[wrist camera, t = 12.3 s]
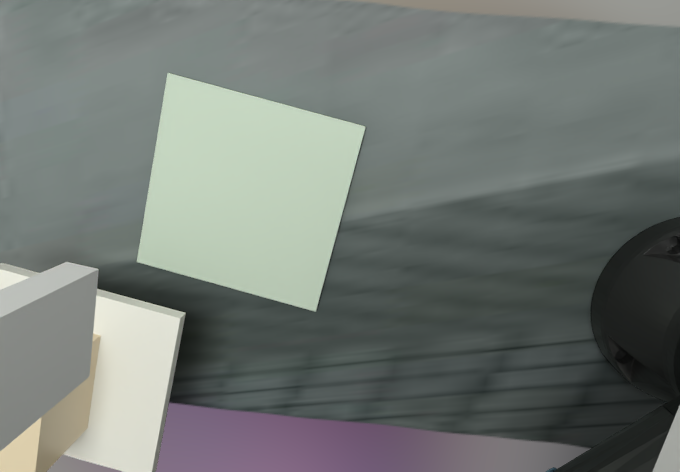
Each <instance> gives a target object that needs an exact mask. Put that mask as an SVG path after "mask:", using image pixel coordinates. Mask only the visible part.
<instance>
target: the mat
mask: <svg viewBox="0 0 680 472" xmlns="http://www.w3.org/2000/svg"><path fill="white" fill-rule="evenodd" d="M364 131H365V126H362V125H358V124H354V123H351V122H347V121H343V120H340V119H336V118H332V117H329V116H325V115H321V114H318V113H314V112H310V111H307V110H303V109H299V108H295V107H292V106H288V105H284V104H281V103H277V102H273V101H270V100H266V99H262V98H259V97H255V96H251V95H248V94H244V93H240V92H237V91H233V90H229V89H226V88H222V87H218V86H215V85H211V84H207V83H204V82H200V81H196V80H193V79H189V78H185V77H181V76H178V75H174V74H170V73H168V75H167V81H166V87H165V93H164V99H163V105H162V111H161V117H160V124H159V130H158V136H157V142H156V148H155V154H154V160H153V166H152V172H151V178H150V185H149V191H148V197H147V203H146V209H145V215H144V221H143V227H142V233H141V240H140V246H139V252H138V258H137V262H139V263H143V264H146V265H150V266H153V267H157V268H161V269H164V270H168V271H171V272H175V273H179V274H182V275H186V276H189V277H193V278H196V279H200V280H204V281H207V282H211V283H214V284H218V285H222V286H225V287H229V288H232V289H236V290H240V291H243V292H247V293H250V294H254V295H258V296H261V297H265V298H268V299H272V300H276V301H279V302H283V303H286V304H290V305H294V306H297V307H301V308H304V309H308V310H312V311H315V312H316V309H317V306H318V302H319V298H320V294H321V291H322V287H323V283H324V280H325V276H326V272H327V268H328V265H329V261H330V257H331V254H332V250H333V246H334V242H335V239H336V235H337V231H338V228H339V224H340V220H341V216H342V213H343V209H344V205H345V202H346V198H347V194H348V191H349V187H350V183H351V179H352V176H353V172H354V168H355V165H356V161H357V157H358V153H359V150H360V146H361V142H362V139H363V135H364Z"/></svg>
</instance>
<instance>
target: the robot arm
mask: <svg viewBox="0 0 680 472" xmlns="http://www.w3.org/2000/svg"><path fill="white" fill-rule="evenodd" d="M98 272H99V269H96V268H92V267H87V266H83V265H78V264H74V263H69V262H65V263H63V264H60V265H58V266H56V267H53V268H51V269H49V270H46V271H44V272H42V273H39V274H37V275H34V276H32V277H30V278H27V279H25V280H23V281H20V282H18V283H15V284H13V285H11V286H8V287H6V288H4V289H1V290H0V451H1V450H3V449H4V448H5V447H6V446H7V445H9V444H10V443H11V442H12V441H13V440H14V439H16V438H17V437H18V436H19V435H20V434H22V433H23V432H24V431H25V430H26V429H28V428H29V427H30V426H31V425H32V424H34V423H35V422H36V421H37V420H38V419H39V418H41V417H42V416H43V415H44V414H45V413H47V412H48V411H49V410H50V409H51V408H53V407H54V406H55V405H56V404H57V403H59V402H60V401H61V400H62V399H63V398H65V397H66V396H67V395H68V394H69V393H70V392H72V391H73V390H74V389H75V388H76V387H78V386H79V385H80V384H81V383H82V382H84V381H85V380H86V379H87V378H88V377H89V376H90V364H91V353H92V341H93V330H94V318H95V306H96V295H97V283H98ZM591 321H592V328H593V333H594V336H595V339H596V341H597V344H598V346H599V348H600V350H601V351H602V353H603V354H604V356H605V357H606V358H607V360H608V361H609V362H610V363H611V364H612V365H613V366H614V367H615V368H616V370H617V371H618V372H619V373H620V374H621V375H622V376H623V377H624V378H625V379H626V380H628V381H629V382H630V383H631V384H633V385H634V386H636V387H637V388H639V389H640V390H642V391H644V392H645V393H647V394H649V395H651V396H654V397H656V398H658V399H661V400H663V401H666V402H668V403H666V404H665V405H663V406H661V407H659V408H657V409H656V410H654V411H653V412H651V413H649V414H648V415H646V416H644V417H643V418H641V419H639V420H638V421H636V422H634V423H633V424H631V425H629V426H628V427H626V428H624V429H623V430H621V431H620V432H618V433H616V434H615V435H613V436H611V437H610V438H608V439H606V440H605V441H603V442H601V443H600V444H598V445H596V446H595V447H593V448H591V449H590V450H588V451H586V452H585V453H583V454H581V455H580V456H578V457H576V458H575V459H574V460H571V461H570V462H568V463H567V464H565V465H563V466H562V467H560V468H558V469H556V468H551V469H549V470H548V471H546V472H680V217H679V218H674V219H671V220H668V221H665V222H662V223H659V224H657V225H654V226H652V227H650V228H648V229H646V230H645V231H643V232H641V233H640V234H638V235H637V236H635V237H634V238H632V239H631V240H630V241H628V242H627V243H626V244H625V245H624V246H623V247H622V248H621V249H620V250H619V251H618V252H617V253H616V254H615V255H614V256H613V257H612V259H611V260H610V261H609V263H608V264H607V266H606V267H605V269H604V270H603V272H602V274H601V276H600V278H599V280H598V282H597V285H596V288H595V291H594V294H593V299H592V306H591Z"/></svg>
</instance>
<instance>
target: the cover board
mask: <svg viewBox="0 0 680 472" xmlns="http://www.w3.org/2000/svg"><path fill="white" fill-rule="evenodd" d="M37 274H39V273H38V272H34V271H30V270H27V269H23V268H19V267H16V266H12V265H8V264H5V263H1V264H0V290H1V289H4V288H6V287H8V286H11V285H13V284H15V283H18V282H20V281H23V280H25V279H27V278H30V277H32V276H34V275H37ZM185 315H186V313H185V312H181V311H177V310H174V309H170V308H166V307H163V306H159V305H155V304H152V303H148V302H144V301H141V300H137V299H133V298H130V297H126V296H122V295H118V294H115V293H111V292H107V291H104V290H100V289H97V295H96V306H95V318H94V330H93V341H92V353H91V364H90V376H89V377H88V378H87V379H86V380H85V381H84V382H82V383H81V384H80V385H79V386H78V387H76V388H75V389H74V390H73V391H72V392H70V393H69V394H68V395H67V396H66V397H65V398H63V399H62V400H61V401H60V402H59V403H57V404H56V405H55V406H54V407H53V408H51V409H50V410H49V411H48V412H47V413H45V414H44V415H43V416H42V417H41V418H39V419H38V420H37V421H36V422H35V423H34V424H32V425H31V426H30V427H29V428H28V429H26V430H25V431H24V432H23V433H22V434H20V435H19V436H18V437H17V438H16V439H14V440H13V441H12V442H11V443H10V444H9V445H7V446H6V447H5V448H4V449H3V450H1V451H0V472H47V470H49V468H50V467H51V466H52V465H53V464H54V463H55V462H56V461H57V460H58V459H59V458H60V457H61V456H62V455H66V456H69V457H73V458H77V459H80V460H84V461H88V462H91V463H95V464H98V465H102V466H105V467H109V468H113V469H117V470H120V471H123V472H155V471H156V469H157V463H158V458H159V453H160V447H161V442H162V436H163V431H164V426H165V421H166V416H167V410H168V405H169V400H170V394H171V389H172V384H173V378H174V373H175V368H176V362H177V357H178V352H179V347H180V341H181V336H182V331H183V325H184V320H185Z"/></svg>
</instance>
